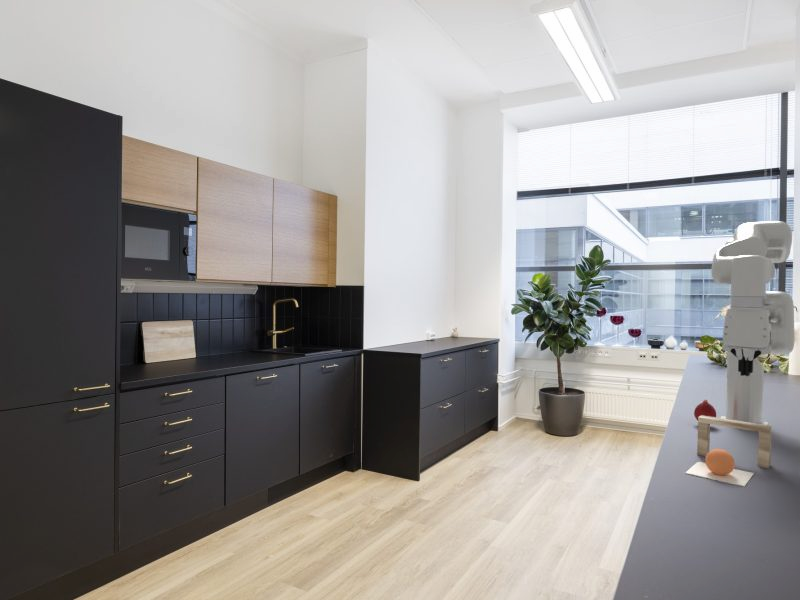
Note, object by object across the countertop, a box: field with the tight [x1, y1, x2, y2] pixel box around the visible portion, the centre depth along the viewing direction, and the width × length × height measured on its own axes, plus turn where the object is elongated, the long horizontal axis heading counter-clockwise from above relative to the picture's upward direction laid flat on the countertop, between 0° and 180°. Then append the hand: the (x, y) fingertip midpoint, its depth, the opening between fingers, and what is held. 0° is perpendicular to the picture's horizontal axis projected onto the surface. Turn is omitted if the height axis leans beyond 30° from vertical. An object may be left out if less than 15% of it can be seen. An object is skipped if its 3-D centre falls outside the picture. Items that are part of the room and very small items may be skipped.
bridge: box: [696, 415, 773, 469], centre depth 127 cm, size 3×14×9 cm, turn 48°
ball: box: [704, 448, 736, 475], centre depth 116 cm, size 6×6×6 cm
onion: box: [693, 399, 717, 422], centre depth 160 cm, size 6×6×8 cm
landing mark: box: [684, 461, 755, 488], centre depth 116 cm, size 11×11×1 cm
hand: (745, 375), depth 136 cm, fingers closed
